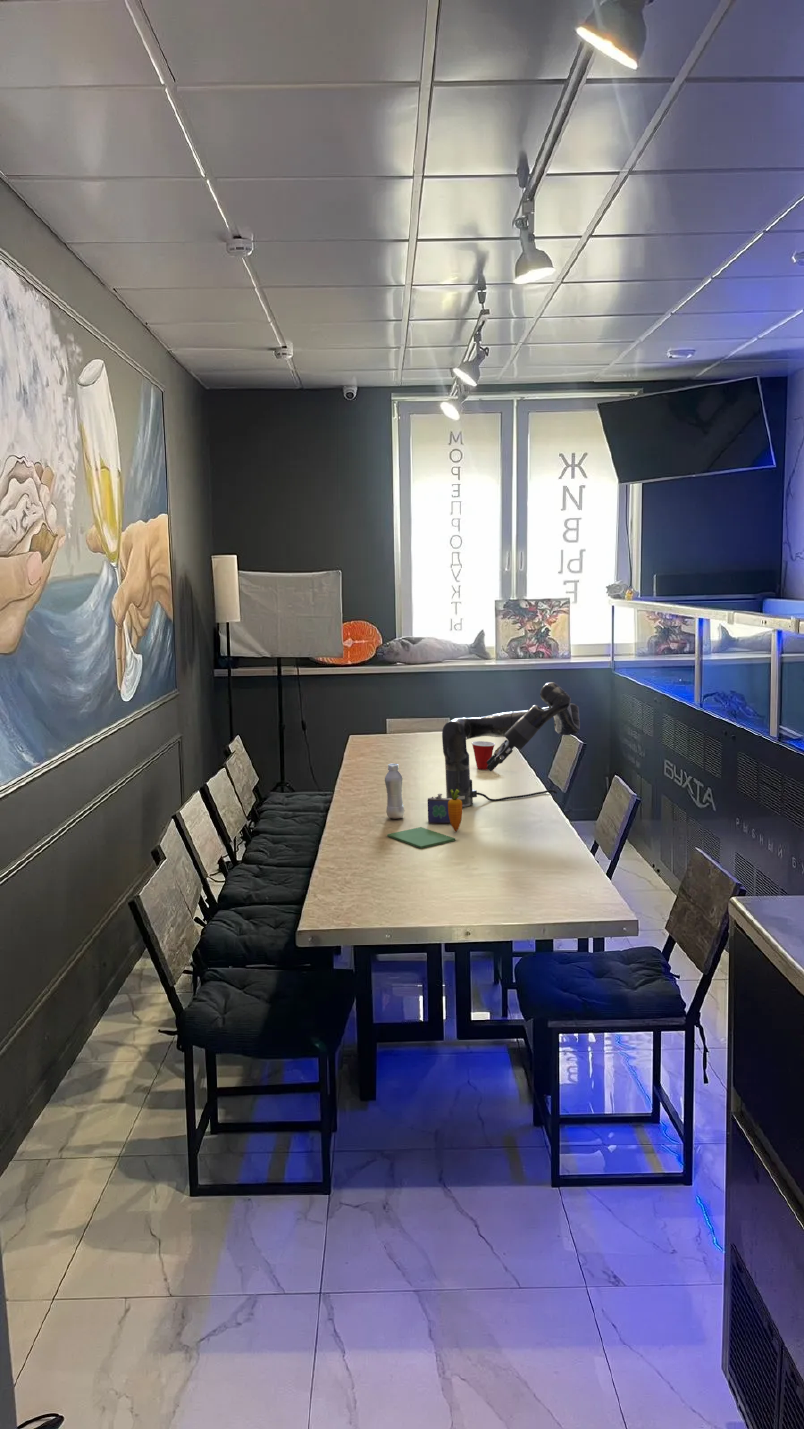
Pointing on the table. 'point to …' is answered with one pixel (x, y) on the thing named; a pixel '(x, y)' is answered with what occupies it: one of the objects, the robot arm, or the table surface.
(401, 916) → the table surface
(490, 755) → the plastic cup
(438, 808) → the flask
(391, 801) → the plastic bottle
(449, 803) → the carrot
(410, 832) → the green mat
